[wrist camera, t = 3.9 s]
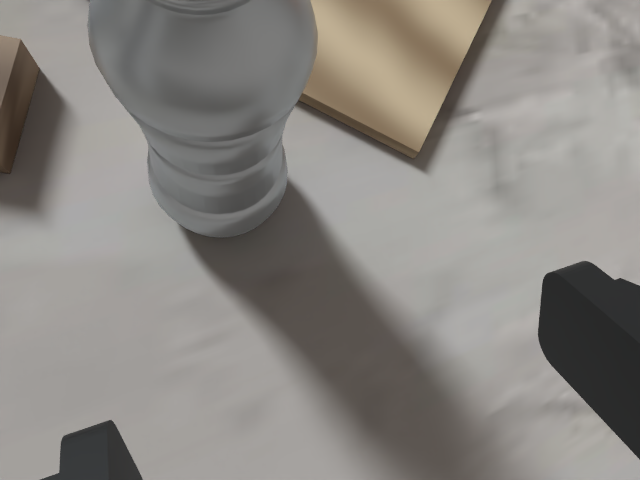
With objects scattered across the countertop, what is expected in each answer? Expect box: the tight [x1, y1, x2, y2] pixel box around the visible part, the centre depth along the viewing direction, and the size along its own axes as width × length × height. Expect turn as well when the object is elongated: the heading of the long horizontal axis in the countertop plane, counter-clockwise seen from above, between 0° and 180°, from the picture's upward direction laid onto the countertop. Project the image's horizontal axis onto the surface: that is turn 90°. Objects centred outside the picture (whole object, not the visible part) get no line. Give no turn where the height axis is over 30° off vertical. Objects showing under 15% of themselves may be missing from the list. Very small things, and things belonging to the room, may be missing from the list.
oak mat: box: [299, 0, 492, 159], centre depth 34 cm, size 13×13×1 cm
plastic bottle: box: [88, 0, 318, 238], centre depth 22 cm, size 6×7×20 cm
